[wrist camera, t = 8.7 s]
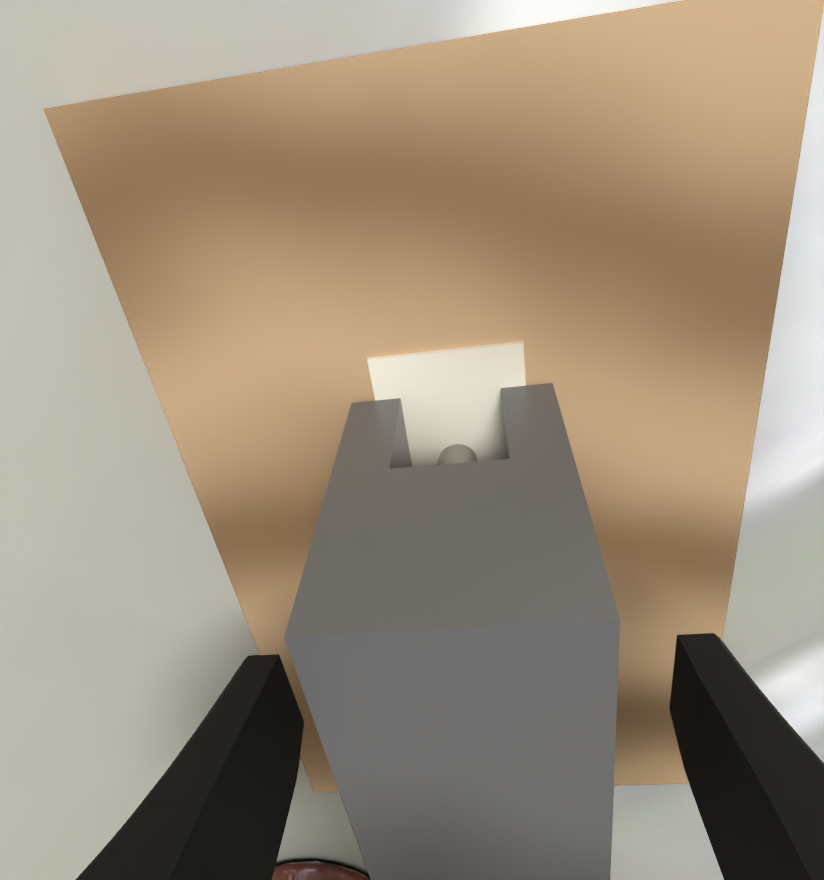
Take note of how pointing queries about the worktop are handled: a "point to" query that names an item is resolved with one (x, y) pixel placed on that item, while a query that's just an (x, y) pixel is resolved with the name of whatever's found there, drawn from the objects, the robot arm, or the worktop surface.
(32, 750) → the worktop surface
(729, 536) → the pin board
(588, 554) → the block
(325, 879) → the supplement bottle
